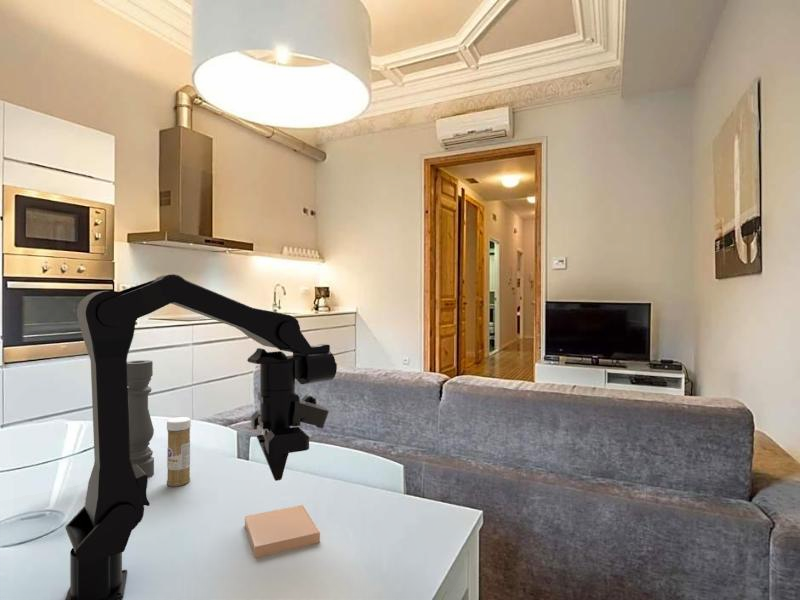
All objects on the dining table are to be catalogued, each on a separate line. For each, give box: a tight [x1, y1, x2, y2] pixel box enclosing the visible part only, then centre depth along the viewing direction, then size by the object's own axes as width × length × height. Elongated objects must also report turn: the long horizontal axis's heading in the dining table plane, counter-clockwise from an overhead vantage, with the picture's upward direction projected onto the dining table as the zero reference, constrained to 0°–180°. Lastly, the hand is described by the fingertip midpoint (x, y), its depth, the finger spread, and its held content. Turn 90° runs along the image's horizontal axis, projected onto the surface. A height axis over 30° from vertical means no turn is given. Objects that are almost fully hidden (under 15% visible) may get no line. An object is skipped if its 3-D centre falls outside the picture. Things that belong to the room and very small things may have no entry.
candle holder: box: [127, 359, 155, 479], centre depth 101 cm, size 6×6×25 cm
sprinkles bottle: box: [166, 416, 192, 487], centre depth 98 cm, size 5×5×14 cm
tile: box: [244, 504, 321, 558], centre depth 76 cm, size 2×10×11 cm
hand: (277, 479), depth 79 cm, fingers closed
